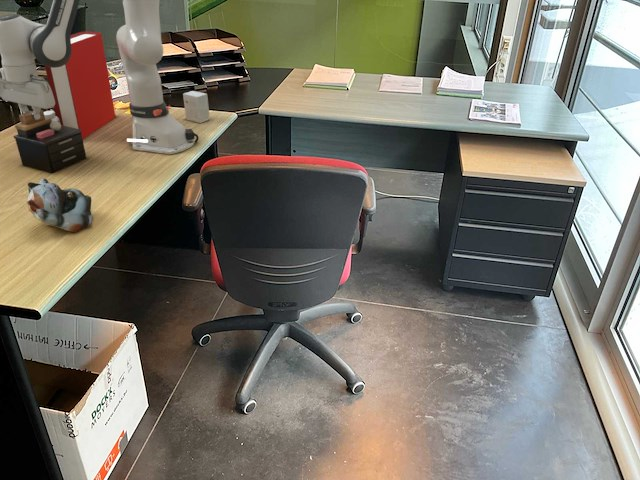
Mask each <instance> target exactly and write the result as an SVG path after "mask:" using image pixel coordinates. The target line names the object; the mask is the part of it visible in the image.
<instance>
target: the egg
mask: <svg viewBox="0 0 640 480" xmlns="http://www.w3.org/2000/svg"><path fill="white" fill-rule="evenodd" d="M50 128H51V129H52V130H53V131H59V130H60V129H61V124H60V123H59V122H58V121H52V122H51V123H50Z"/></svg>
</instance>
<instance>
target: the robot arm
mask: <svg viewBox="0 0 640 480" xmlns="http://www.w3.org/2000/svg"><path fill="white" fill-rule="evenodd" d="M80 2H81V0H52V4H51V7H50V11H49V13H48V14H49V15H48V18H47V22H46V24H44V23H40V22H36V21H32V20H30V19H28V18H26V17H24V16H22V15H21V14H18V13H9V14H6V15H2V16H0V57H1V66H2V67H0V98H1V99H2V100H3V101H7V102H11V103H16V104H17V105H18V108H19V109H20V111H21V112H22V114H24V113H28V112H31V111H33V113H32V118H33V119H36V120H38V119H40V110H48V109H53V108H54V106H55V99H54V96H53V93H52V90H51V88H50V86H49V82H48V80H46V79H45V78H44V77H43V76H39V73H38V70H37V69H38V68H37V65H36V61H35V60H37V61H38V62H39V63H40V64H41V65H43V66H44V67H45V66H48V67H52V68H56V67H61V66H63V65H65V64H66V63H67V62H68V61H69V59H70V57H71V53H72V49H71V41H70V35H72V30H73V26H74V22H75V19H76V15H77V13H78V8H79V6H80V5H79V4H80ZM160 2H161V1H160V0H122V7H123V11H124V21H125V24H123V25H122V26H120V27H119V28H118V30H117V31H116V36H115V40H116V44H117V48H118V52H119V57H120V60H121V64H122V68H123V72H124V74H125V75H124V76H125V79H126V84H127V91H128V98H129V105H128V106H129V113H130V115H131V121H132V122H131V123H132V124H131V125H132V130H131V131H132V134H131V138H126V142H131V145H132V146H131V147H132V150H133V151H134V150H135V151H141V152H149V153H157V154H165V155H174V154H178V153H181V152H184V151H186V150H188V149H190V148H192V147H193V146H194V145H195V144H196V143H198V142H199V139H200V137H199V135H198V134H196V133H195V132H194V131H193V129H192V128H186V127H185V126H184V125H183V124H182V123H181V122H180V121H178V120H177V119H176V118H175V117H174V116H173V115H172V114H171V113H170V110H171V105H168V106H167V103H166V101H165V100H164V95H163V86H162V79H161V76H160V73H159V70H158V66H157V64H158V63H159V62H160V61H161V60H162V58H163V57H164V46H163V42H162V26H161V16H160ZM28 106H29V107H31V109H32V110H29V108H28Z"/></svg>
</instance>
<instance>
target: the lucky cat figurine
mask: <svg viewBox="0 0 640 480" xmlns="http://www.w3.org/2000/svg"><path fill="white" fill-rule="evenodd" d="M27 186H28V197H27V200H26V204H27V209H28V211H29V212H30V213H31V214H32V216H33V217H34V218H35V219H36V220H38V221H40V222H42V223H45V225H46V226H52V227H54V228H55V227H56V228H58V229H62V230H64V231H68V232H71V233H76V232H79V231H82V230H85V229H87V227H88V226H90V225H91V224H92V222H93V220H94V217H93V214H92V200H93V199H92V196H89V195H87V194H84V192H82V191H81V190H79V189H77V188H74V187H73V188H65V189H62V188H61V187H60V185H58V184H57V183H55V182H50V181H48V179H47V178H41V179H40V181H39V183H36V182H32V181H31V182H30V181H29V182H27Z"/></svg>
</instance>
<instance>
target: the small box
mask: <svg viewBox="0 0 640 480" xmlns="http://www.w3.org/2000/svg"><path fill="white" fill-rule="evenodd" d="M182 96H183V97H182V98H183V107H184V114H185V115H184V116H185V120H186V121H191V122H194V123H198V124H199V123H200V124H203V123H204V122H207V121H209V120H210V119H211V118H210V109H209V107H210V106H209V99H208V93H204V92H200V91H197V90H190V91H188V92H184V93H182Z"/></svg>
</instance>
